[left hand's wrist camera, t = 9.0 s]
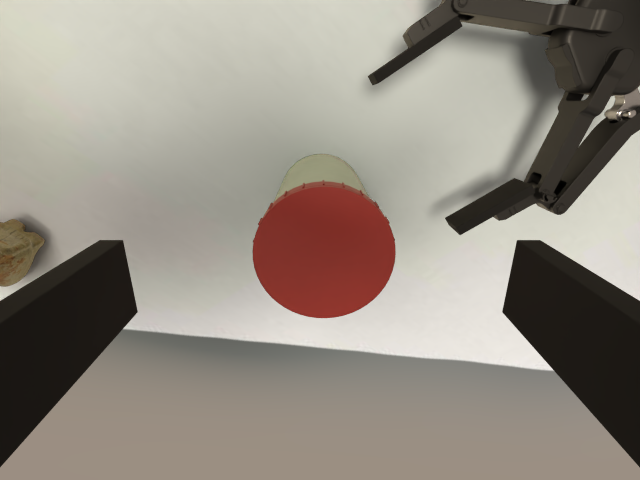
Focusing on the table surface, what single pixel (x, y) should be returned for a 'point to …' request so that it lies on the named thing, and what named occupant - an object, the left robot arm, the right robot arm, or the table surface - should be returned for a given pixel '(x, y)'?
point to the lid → (323, 250)
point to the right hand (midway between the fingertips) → (414, 158)
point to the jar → (320, 173)
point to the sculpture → (16, 251)
